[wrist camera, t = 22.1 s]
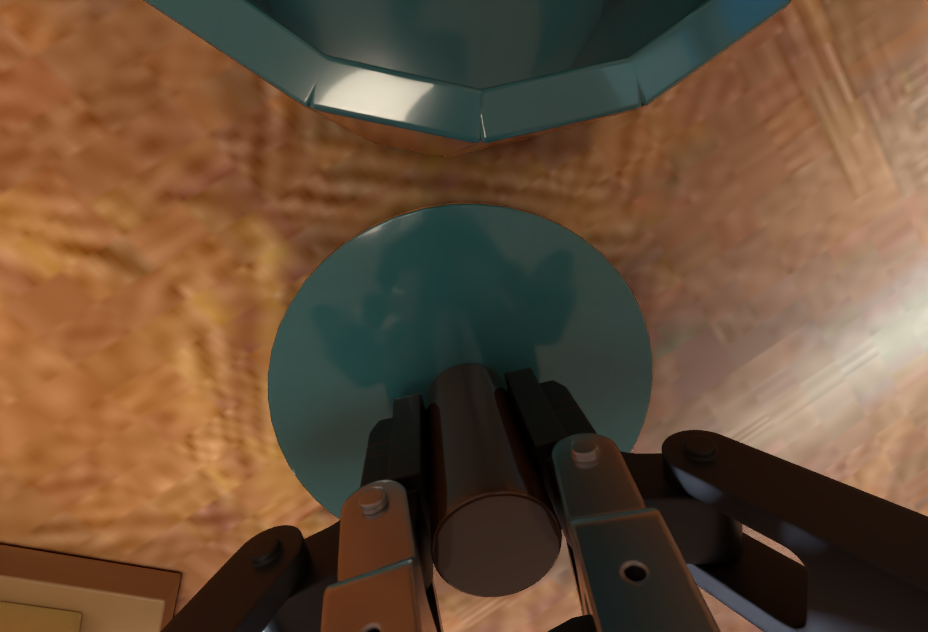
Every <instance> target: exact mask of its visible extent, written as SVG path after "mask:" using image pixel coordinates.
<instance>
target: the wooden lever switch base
mask: <svg viewBox="0 0 928 632" xmlns="http://www.w3.org/2000/svg"><path fill="white" fill-rule="evenodd" d="M180 577H181V575H180V574H179V573H173V572H167V571H161V570H155V569H148V568H142V567H136V566H130V565H124V564H118V563H111V562H105V561H99V560H93V559H87V558H81V557H74V556H68V555H62V554H56V553H50V552H44V551H37V550H31V549H25V548H19V547H13V546H7V545H0V601H3V602H10V603H17V604H24V605H31V606H38V607H45V608H52V609H59V610H66V611H73V612H80V613H82V615H81V623H80V631H79V632H160V631H161V630H162V629H163V628H164V627H165V626H166V625H167V624H168V623H169V622H170V621H171V620H172V618H173V613H174V608H175V603H176V597H177V592H178V587H179V582H180Z"/></svg>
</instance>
